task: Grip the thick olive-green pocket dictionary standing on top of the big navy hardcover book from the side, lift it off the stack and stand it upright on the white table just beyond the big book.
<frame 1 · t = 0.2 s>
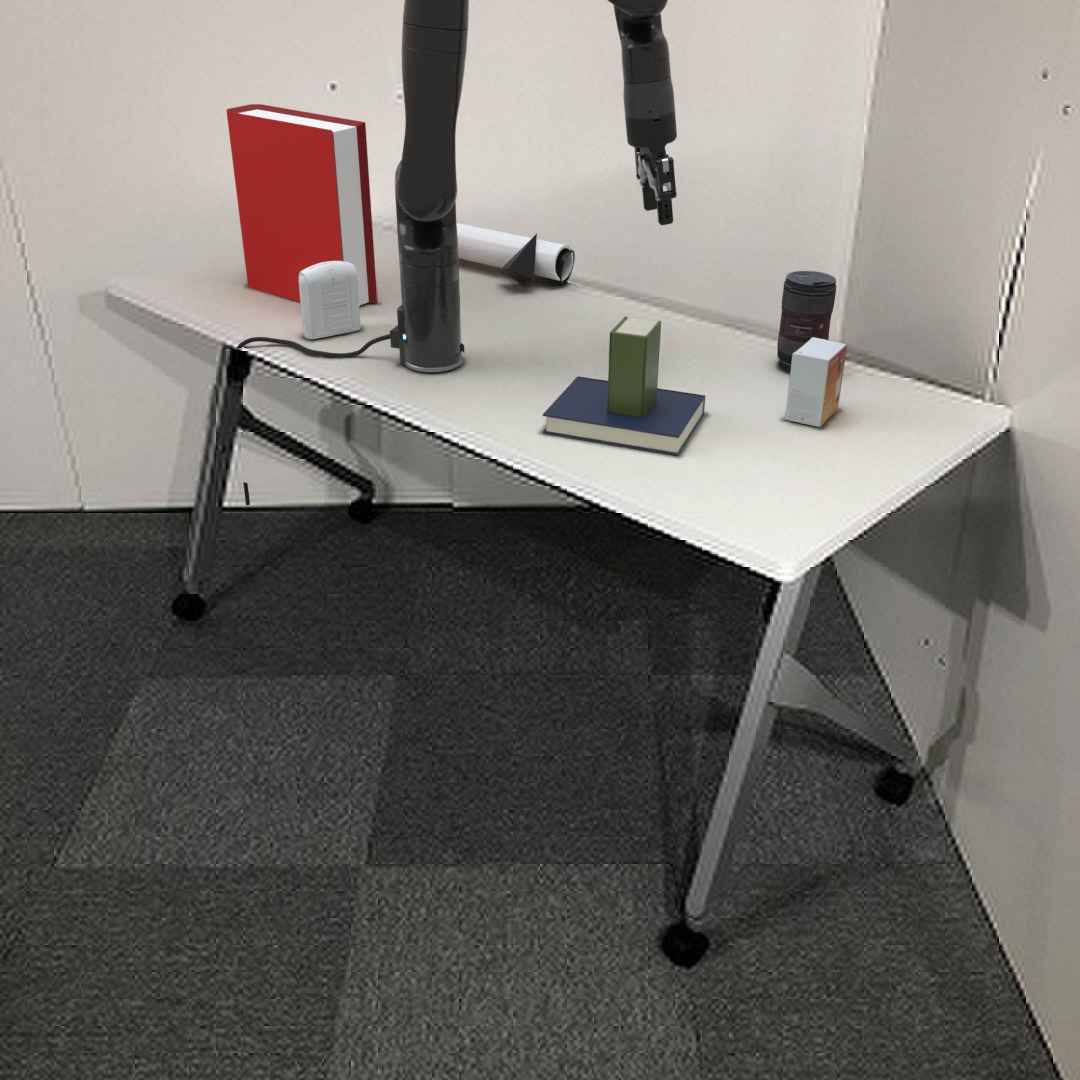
hand: (658, 216, 188), 23 cm above the table, tool pointing down, fingers open, 8 cm apart
dictionary: (632, 405, 173), point 3 cm above the table, touching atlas
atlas: (624, 423, 175), on the table
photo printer: (332, 333, 207), on the table
book: (309, 295, 224), on the table
small box: (811, 416, 178), on the table
diploma: (485, 274, 235), on the table
camera lens: (799, 368, 194), on the table
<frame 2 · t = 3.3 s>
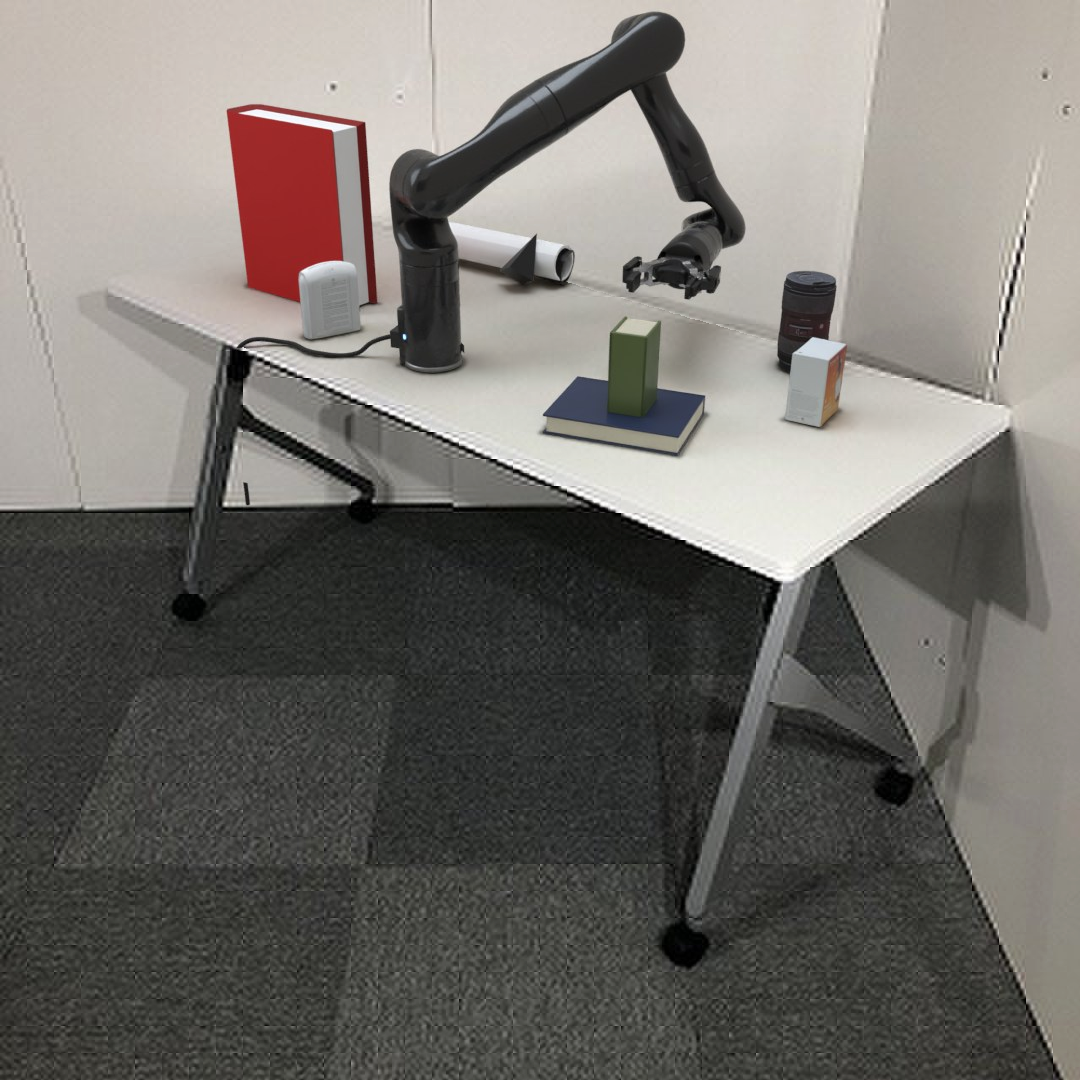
hand: (658, 289, 175), 17 cm above the table, tool horizontal, fingers open, 8 cm apart
nothing on the table moved.
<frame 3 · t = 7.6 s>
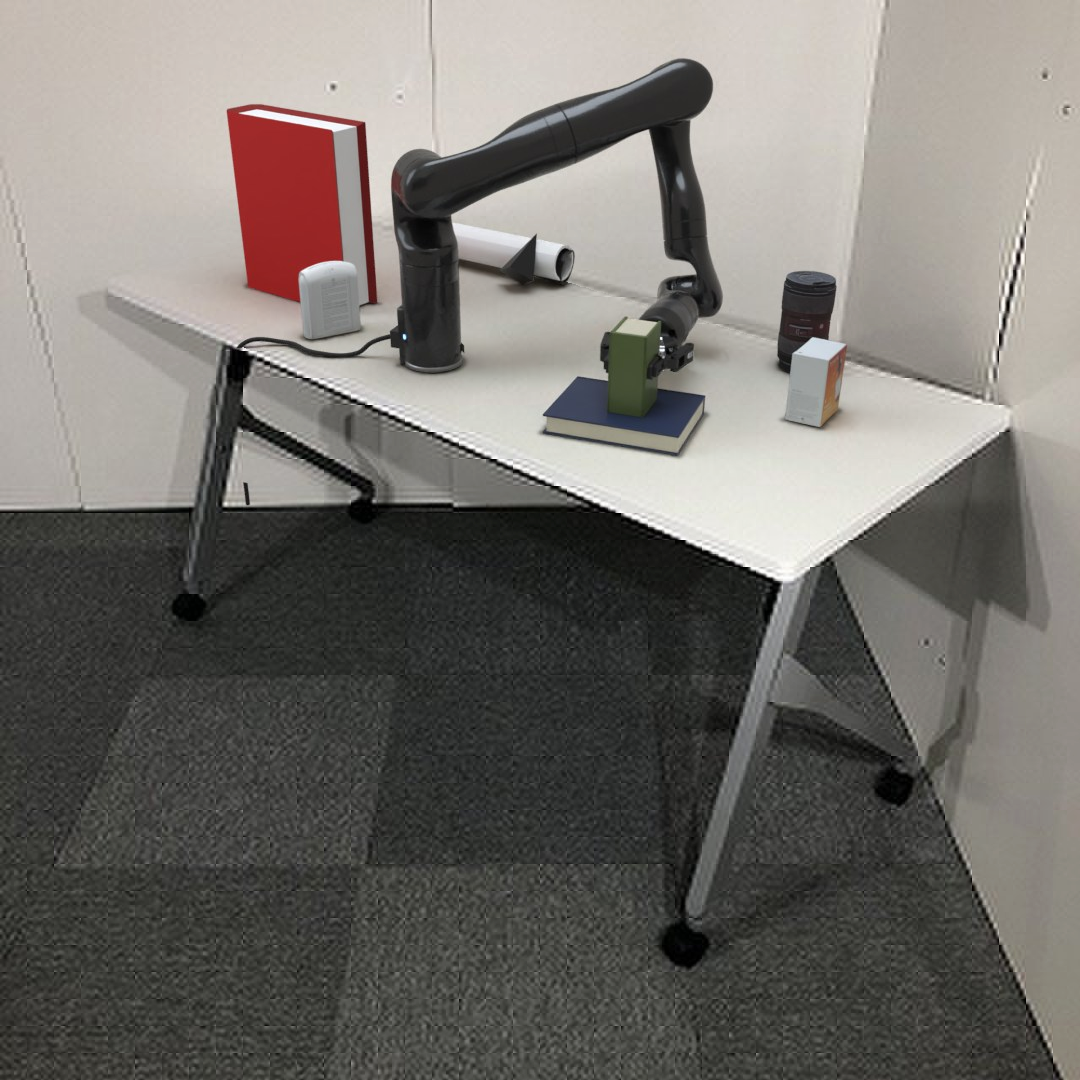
hand: (629, 369, 168), 10 cm above the table, tool horizontal, fingers closed on dictionary, 5 cm apart
dictionary: (632, 405, 173), point 3 cm above the table, touching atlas, gripper
everything else where it was.
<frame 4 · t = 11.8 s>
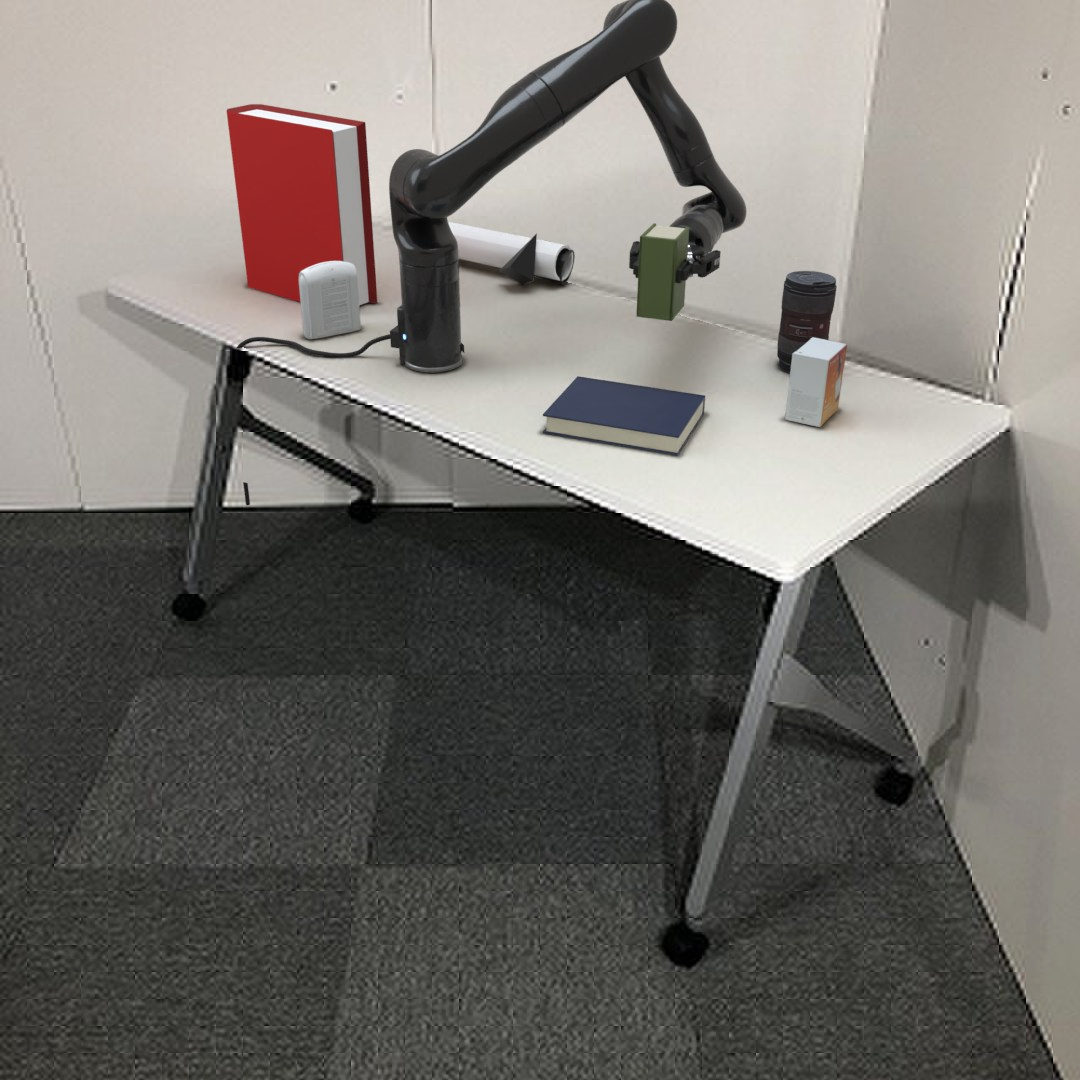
hand: (658, 274, 173), 19 cm above the table, tool horizontal, fingers closed on dictionary, 5 cm apart
dictionary: (660, 311, 179), point 13 cm above the table, touching gripper
everything else where it was.
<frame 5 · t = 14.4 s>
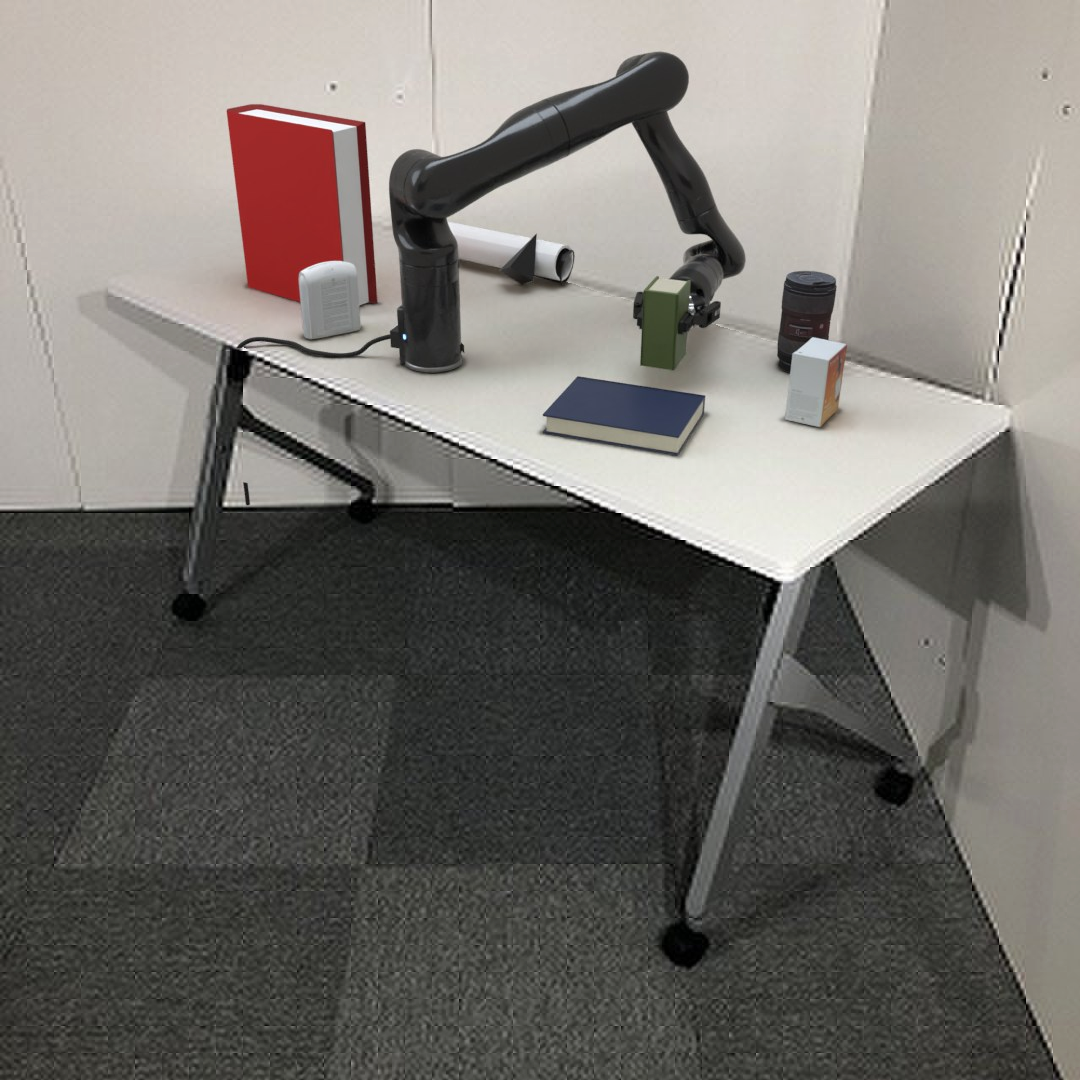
hand: (661, 325, 180), 10 cm above the table, tool horizontal, fingers closed on dictionary, 5 cm apart
dictionary: (663, 359, 186), point 4 cm above the table, touching gripper
everything else where it was.
when the fingers open (6 cm above the table, at t = 16.0 s): dictionary stays where it is, on the table.
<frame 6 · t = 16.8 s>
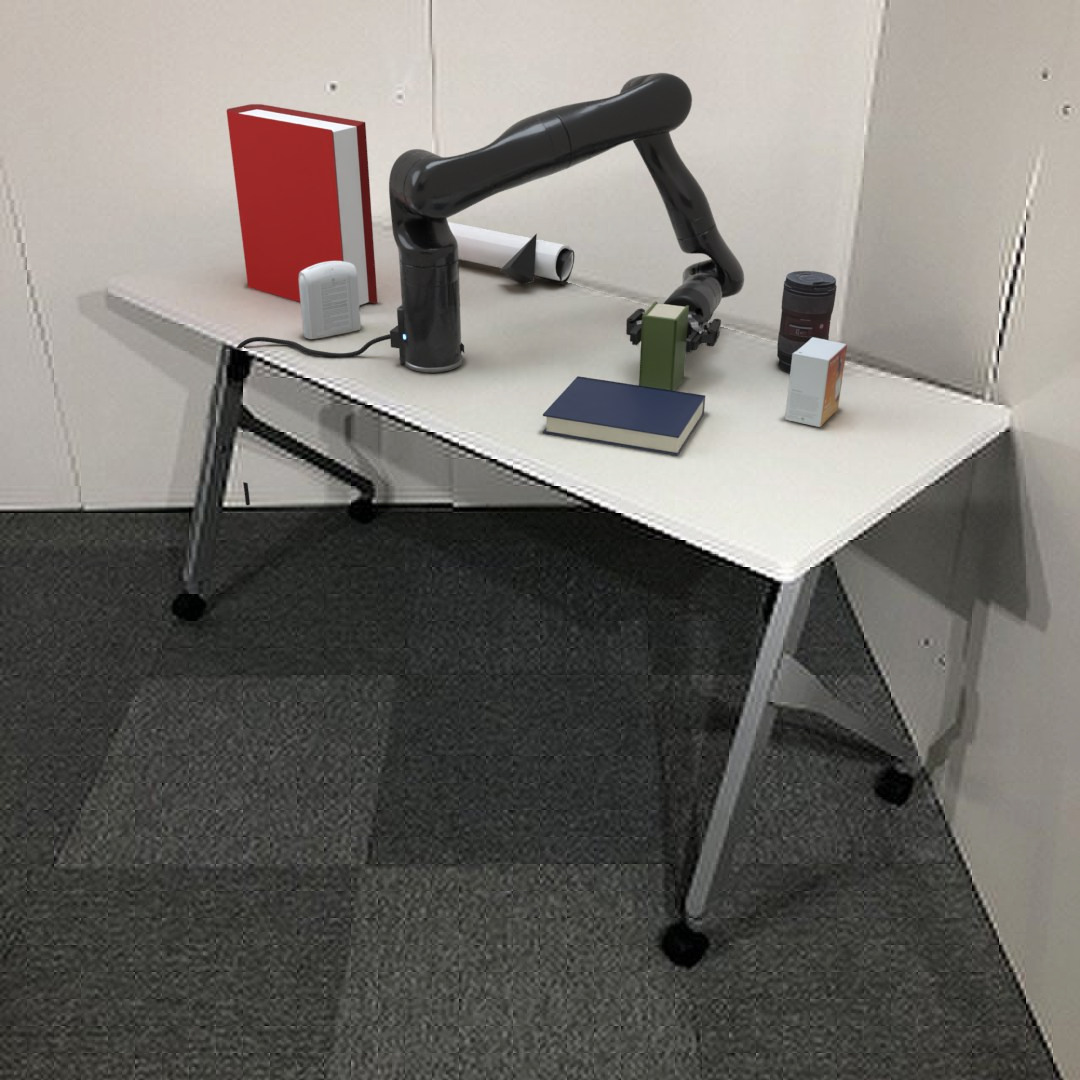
hand: (661, 343, 183), 7 cm above the table, tool horizontal, fingers open, 8 cm apart
dictionary: (661, 384, 188), on the table
everything else where it was.
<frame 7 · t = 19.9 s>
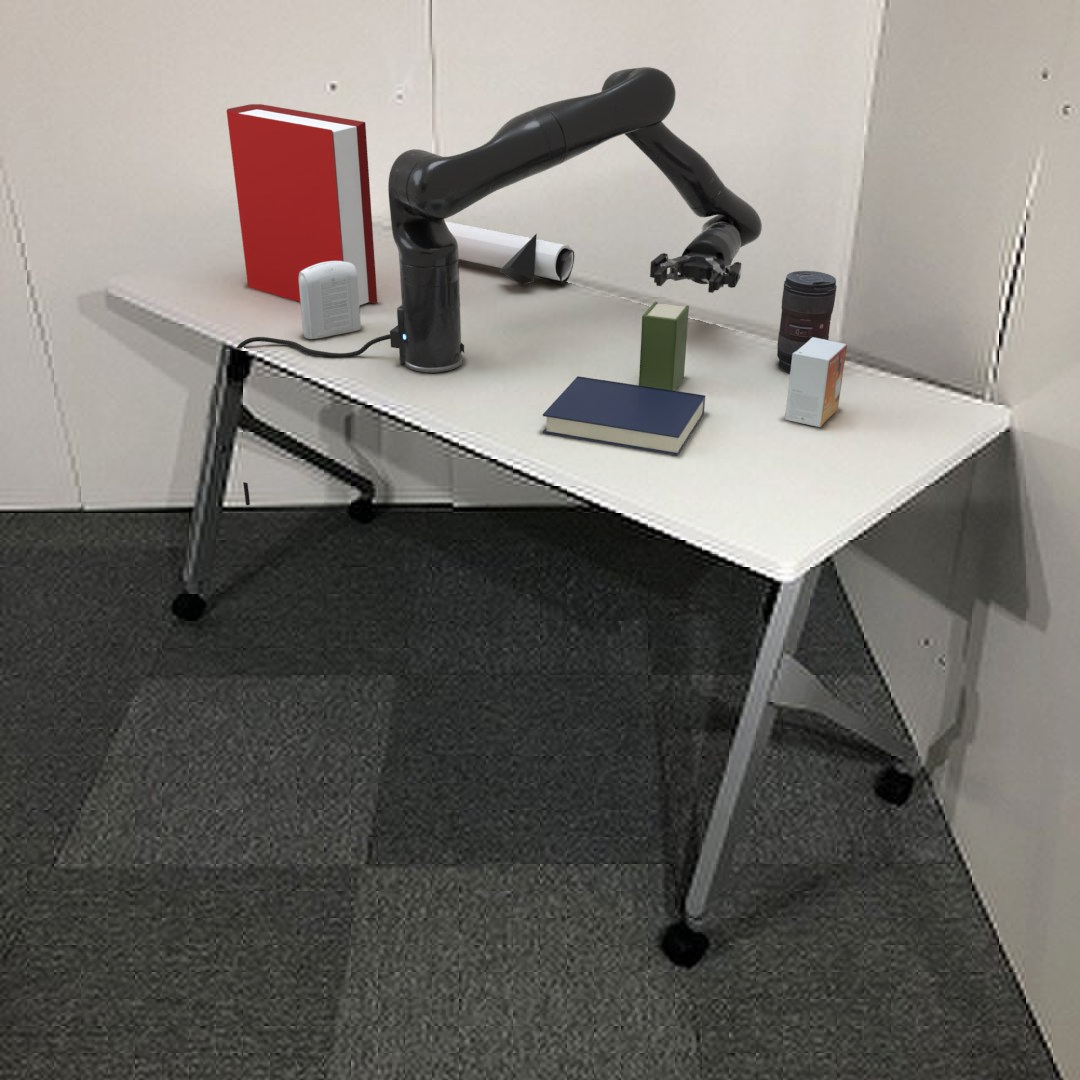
hand: (684, 283, 190), 13 cm above the table, tool horizontal, fingers open, 8 cm apart
nothing on the table moved.
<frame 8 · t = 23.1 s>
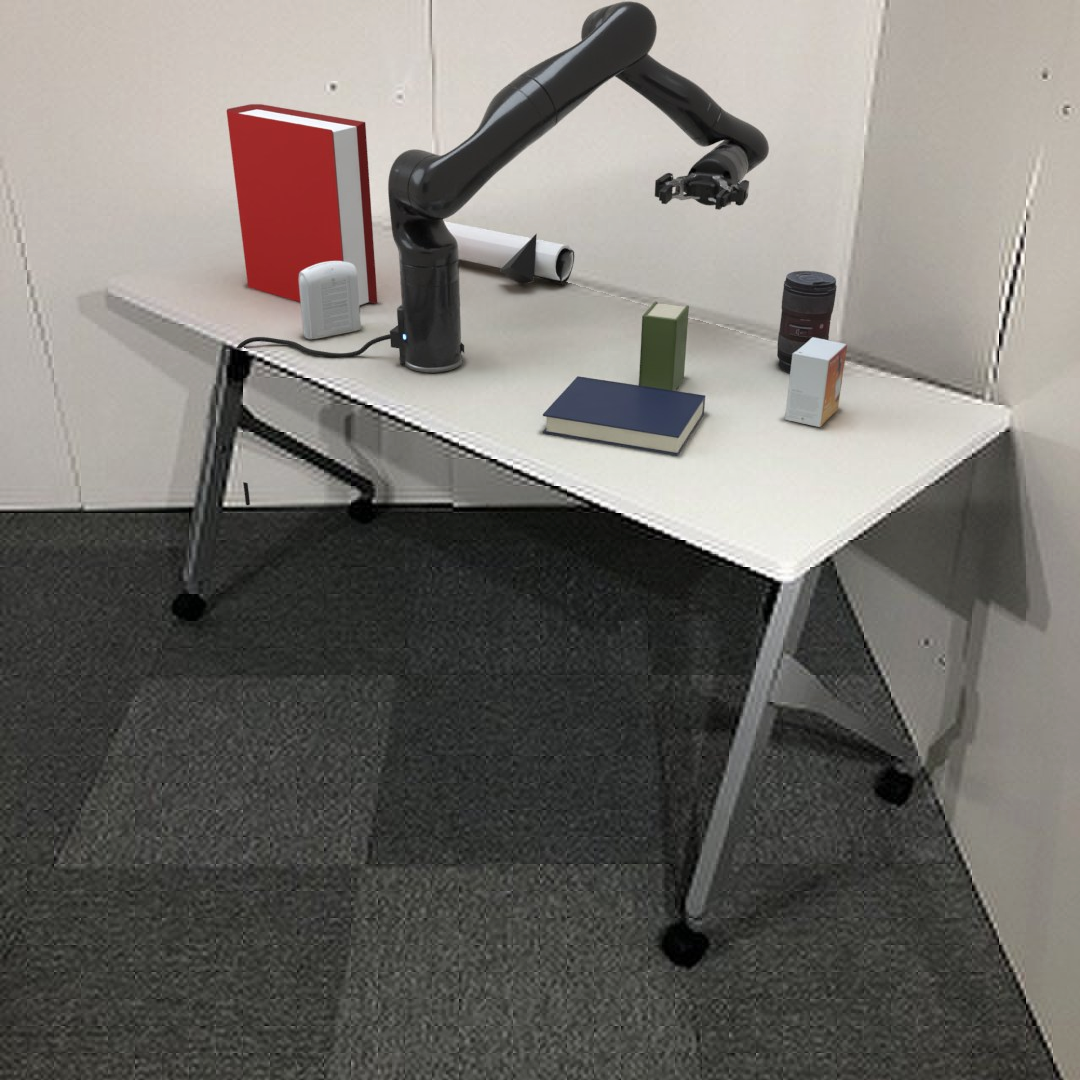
hand: (690, 200, 183), 26 cm above the table, tool horizontal, fingers open, 8 cm apart
nothing on the table moved.
at the end: dictionary touching table; dictionary inside the target area (0.1 cm from its centre), on the table; dictionary tilted 0° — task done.
